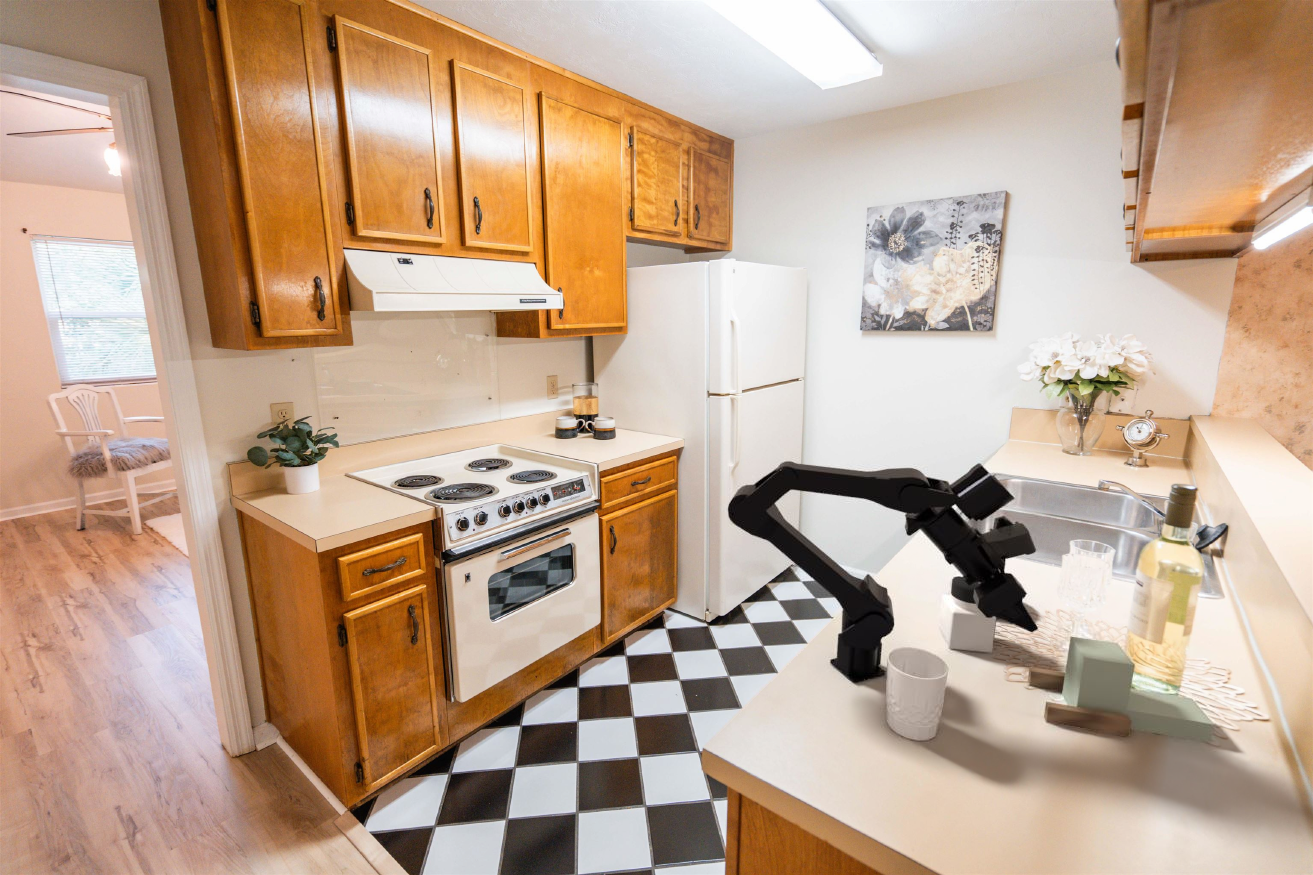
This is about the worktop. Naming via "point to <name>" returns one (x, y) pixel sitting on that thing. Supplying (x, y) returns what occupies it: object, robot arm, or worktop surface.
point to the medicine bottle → (965, 619)
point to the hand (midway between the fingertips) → (1027, 616)
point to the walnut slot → (1076, 708)
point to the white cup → (915, 692)
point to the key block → (1127, 692)
